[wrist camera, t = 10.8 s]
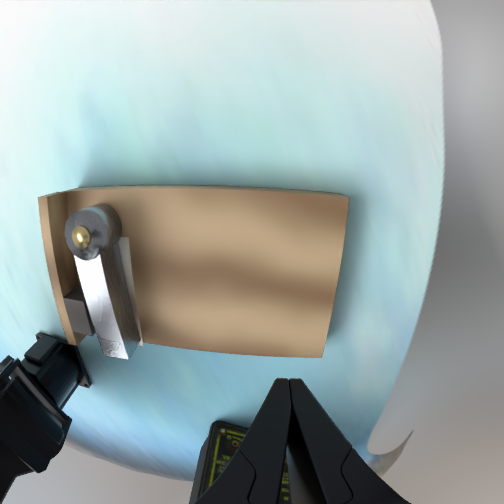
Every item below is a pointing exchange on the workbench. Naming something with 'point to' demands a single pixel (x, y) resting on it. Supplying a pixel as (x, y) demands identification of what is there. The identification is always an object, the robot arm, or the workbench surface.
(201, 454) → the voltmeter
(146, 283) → the door board
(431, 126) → the workbench surface
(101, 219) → the bar
